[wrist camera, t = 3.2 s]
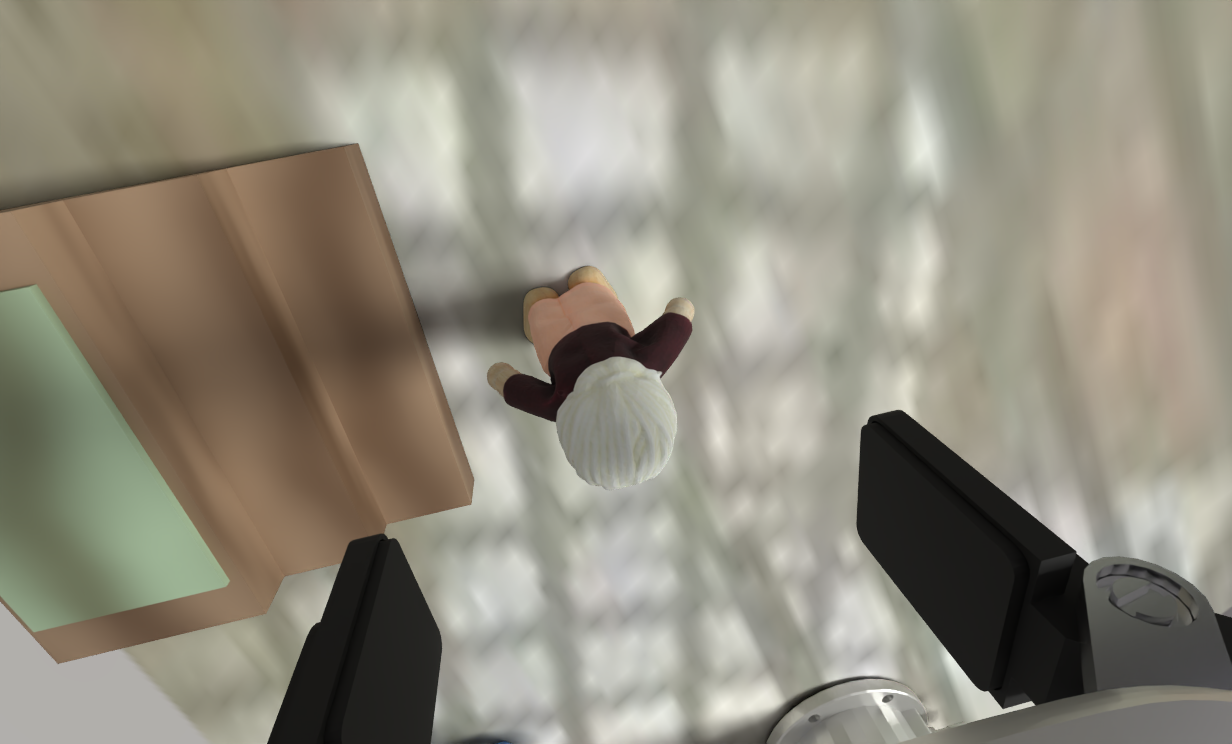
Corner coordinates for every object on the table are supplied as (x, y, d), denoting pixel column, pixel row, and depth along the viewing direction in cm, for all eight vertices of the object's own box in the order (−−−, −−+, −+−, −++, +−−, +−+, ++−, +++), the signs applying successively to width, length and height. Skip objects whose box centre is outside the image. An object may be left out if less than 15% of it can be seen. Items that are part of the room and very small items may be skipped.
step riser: (358, 143, 21) (301, 157, 16) (474, 479, 29) (463, 571, 23) (-89, 226, 20) (-321, 273, 15) (147, 554, 27) (52, 670, 22)
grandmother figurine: (531, 377, 27) (543, 578, 15) (483, 313, 25) (454, 485, 14) (672, 291, 26) (792, 435, 15) (631, 219, 24) (731, 318, 13)
